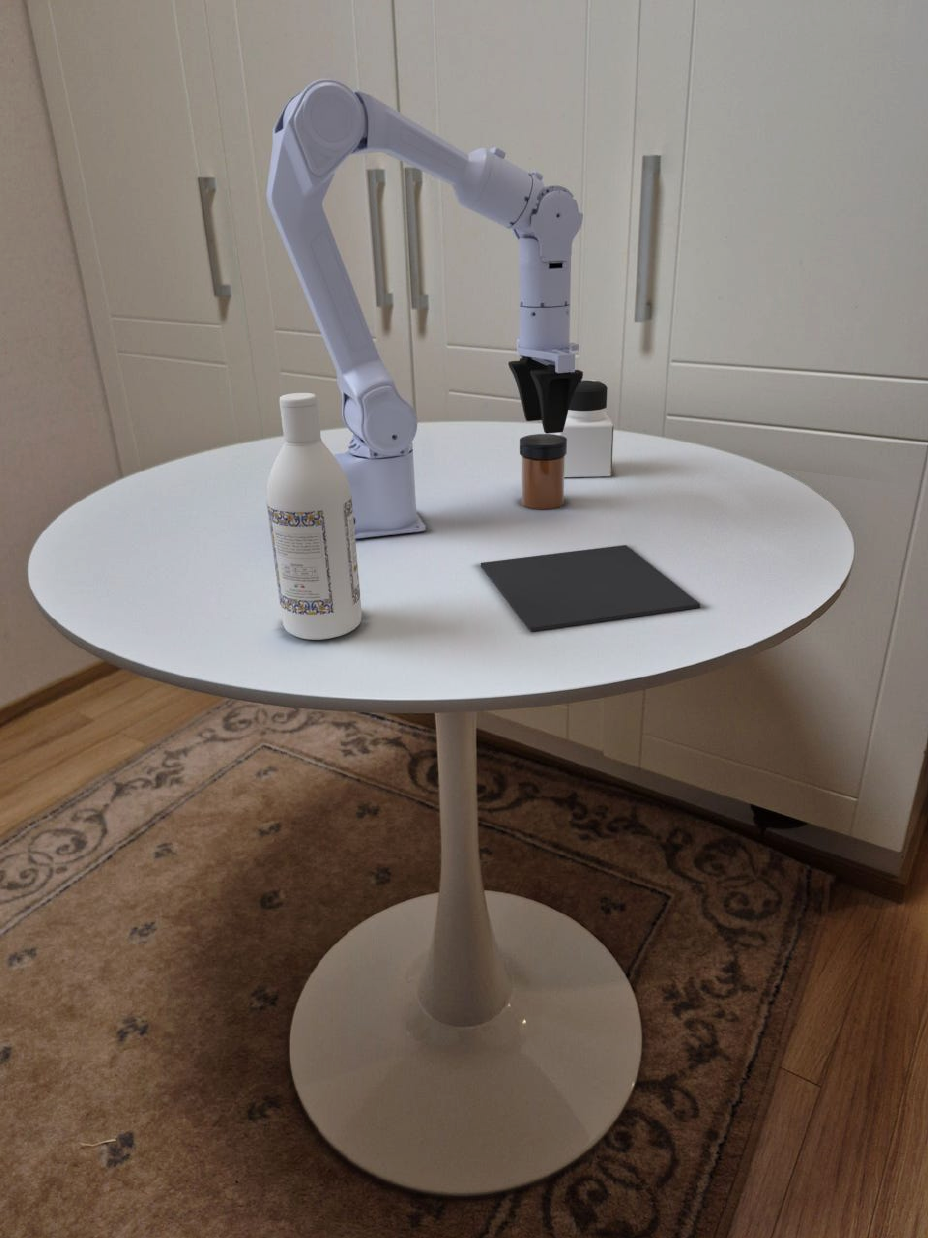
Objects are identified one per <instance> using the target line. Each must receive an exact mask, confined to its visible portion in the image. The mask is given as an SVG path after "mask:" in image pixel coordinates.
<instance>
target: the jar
mask: <svg viewBox="0 0 928 1238" xmlns="http://www.w3.org/2000/svg"><path fill="white" fill-rule="evenodd" d="M564 469H565V456H562V457H559V458H554V459H531V458H526V457H523V456H521V505H522V506H524V507H526V508H529V509H535V510H551V509H556V508H560V507H561V506H563V505H564V504H565V477H564Z"/></svg>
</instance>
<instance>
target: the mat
mask: <svg viewBox="0 0 928 1238" xmlns="http://www.w3.org/2000/svg"><path fill="white" fill-rule="evenodd" d="M480 567H481V569H482V570H483V571H484V572H485V574H486V576H487V577H488V578H489V579H490V580H491V582H492V583H493V584H494V586H495V587H496V588H497V590H498V591H499V593H501V595H502V597H504V598H505V600H506V602H507V603H508V604H509V605H510V607H511V608H512V609H513V610H514V612H515V613H516V615H517V616H518V617H519V618H520V620H521V621H522V622H523V623H524V625H525V626H526V628H527V629H528V630H529V632H537V631H545V630H546V631H547V630H553V629H558V628H566V627H572V626H580V625H586V624H595V623H602V622H608V621H615V620H622V619H628V618H635V617H642V616H643V617H644V616H651V615H656V614H664V613H671V612H678V611H685V610H692V609H699V608H700V607H701V603H700V602H699V601H698V600H696V599H695V598H694V597H692V596H691V595H690V594H689V593H688V592H686V591H685V590H684V589H682V588H681V587H680V586H678V585H677V584H676V583H675V582H674V581H672V580H671V579H670V578H668V577H667V576H666V575H664V573H662V572H661V571H660V570H658V569H657V568H656V567H655V566H653V565H652V564H650V562H648V561H647V560H645V559H644V558H643V557H642V556H641V555H639V554H638V553H637V552H636V551H634V550H633V549H632V548H630V547H629V546H628V545H626V544H622V545H614V546H606V547H599V548H598V547H597V548H592V549H591V548H590V549H589V548H588V549H582V550H573V551H565V552H559V553H557V552H556V553H549V554H542V555H533V556H525V557H516V558H509V559H508V558H507V559H500V560H493V561H485V562H484V561H483V562H480Z"/></svg>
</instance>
